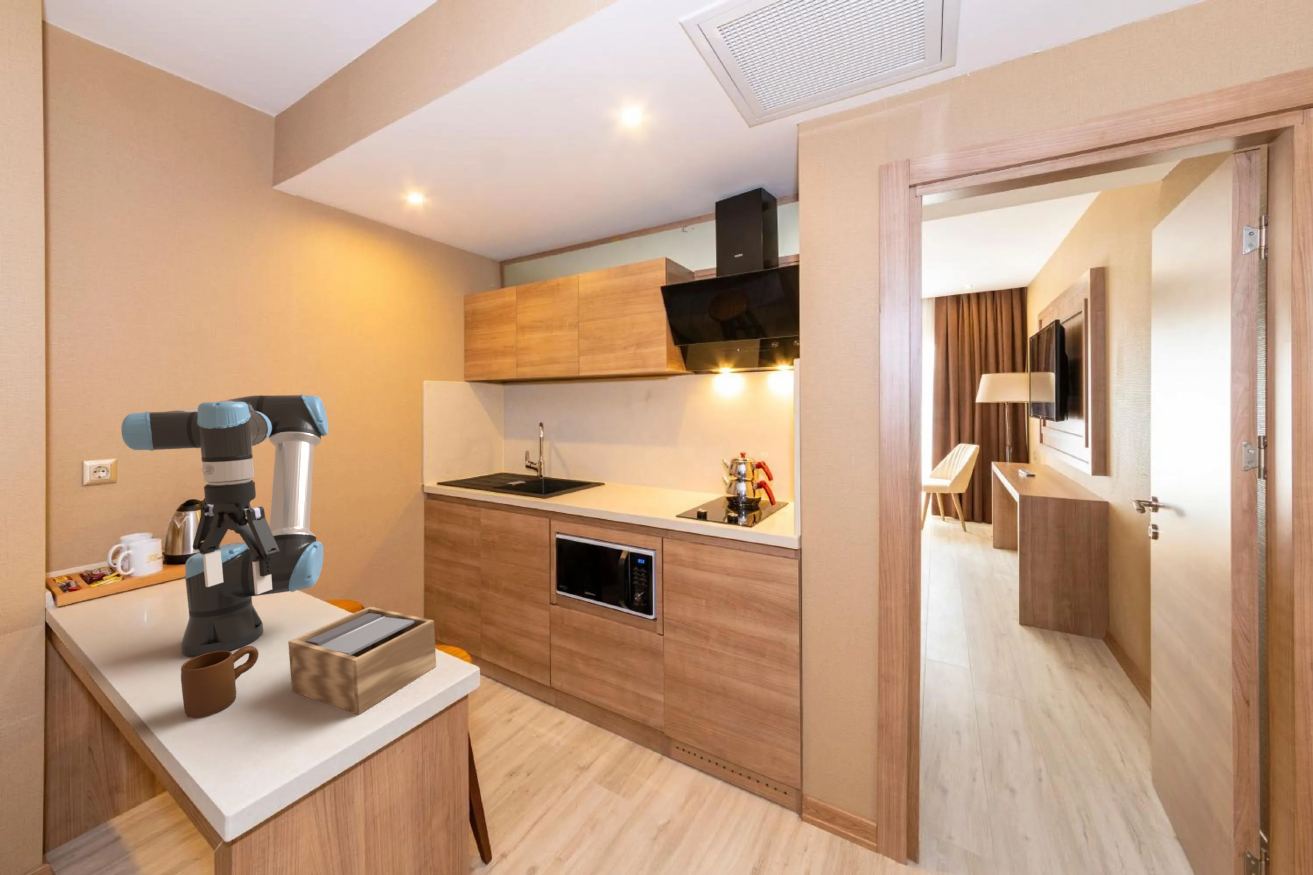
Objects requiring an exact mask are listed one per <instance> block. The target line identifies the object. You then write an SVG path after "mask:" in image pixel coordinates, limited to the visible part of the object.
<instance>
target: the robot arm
mask: <svg viewBox="0 0 1313 875" xmlns="http://www.w3.org/2000/svg"><path fill="white" fill-rule="evenodd" d="M329 432H330V431H329V421H328V416H327V411H326V407H325V405H324V402H323V400H322V399H321V398H320V397H319V396H318V395H309V394H308V395H307V394H306V395H305V394H300V395H299V394H298V395H297V394H292V395H290V394H289V395H287V394H286V395H280V394H279V395H262V394H260V395H248V396H247V395H246V396H242V397H236V398H231V399H226V400H224V399H223V400H219V401H204V402H201V403H199V404H198V406H197V407H194V408H193V407H192V408H185V409H184V408H183V409H177V410H168V411H153V412H152V411H151V412H150V411H144V412H131V413H129V414H127V415H126V416H125V417H124V418H123V420H122V422H121V437H122V441H123V442H124V445H126V446H127V447H128V449H131V450H133V451H151V452H153V451H160V450H163V451H164V450H181V449H183V450H185V449H200V454H201V461H202V464H201V466H202V468H201V472H202V477H203V482H205V483H207V484H205V485H204V486H203V491H204V501H205V503H206V504H204V505H201V506H200V518H199V521H198V525H197V529H196V532H195V536H194V540H193V543H192V548H193V551H195V550H196V551H198V552H197V553H195V554H193V555H191V556H190V557H188V559H187V560H186V562H185V571H184V572H185V573H184V574H185V575H184V579H185V587H186V598H187V607H188V617H189V618H188V621H187V624H186V627H185V630H184V633H183V636H182V640H181V646H180V647H181V653H182V655H183V656H187V657H192V658H194V657H197V656H200V655H203V654H206V653H210V652H215V651H230V652H232V651H234V650H236V649H240V648H242V647H246V646H248V644H249V645H250V644H251V643H253V642H255V641H257V640H258V639H259V638H260V637H261V636H263V634H264V624H263V621H262V618H261V617H260V616H259V614H258V612H257V610H256V608H255V606H254V605H253V598H252V597H258V596H266V595H267V596H268V595H272V594H280V593H287V592H290V593H293V592H296V591H302V590H307V589H310V588H312V587H314V586H315V584H316V583H317V582H318V580H319V577H320V576H321V572H322V568H323V563H324V544H323V543H322V542H321V541H318V540H317V535H316V534H315V533H313V532H312V531H311V528H310V527H311V511H312V508H311V507H312V493H313V492H312V490H313V471H314V470H313V469H314V454H315V453H314V452H315V448H316V447H317V446H319V445H320V444H321V440H322V437H325V436H328V434H329ZM267 439H268V441H269V442H270V443H271V444H272V445H273V446H274V447H275V449H274V450H275V451H274V463H273V475H272V477H273V478H272V488H271V490H272V491H271V500H270V502H271V503H270V516H269V523H268V521H267V519H266V512H265V508H264V507H263V506H258V507H252V506H251V504H250V503H251V502H252V501H253V500H254V499H255V498H256V496H257V492H256V482H255V481H254V480H252V479H253V478H255V467H254V466H255V465H254V458H253V446H257V445H259V444H261V443H263V442H264V441H266V440H267ZM229 530H230V531H234V533H235V534H239V536H240V537H241V538H242V540H243V542H234V543H227V544H222V545H220V544H221V542H223V539H224V538H225V536H226V533H227V532H228V531H229Z"/></svg>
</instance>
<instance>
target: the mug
mask: <svg viewBox="0 0 1313 875" xmlns="http://www.w3.org/2000/svg"><path fill="white" fill-rule="evenodd" d="M245 655H248V658H247V660H246V661H245V662H244V663H242V664H240V665H238V666H236V667H235V663H236V662H237V661H238V660H240V659H241V658H242V657H244V656H245ZM259 655H260V654H259V650H258V648H256V646H252V645H245V646H242V647H240V648H238V650H236V651H235V652H232V651H215V652H210V653H206V654H203V655H200V656H197V657H192V658H190V659H188V660H187V661H185V662H184V663H183V664H181V668H180V683H181V693H182V695H181V696H182V703H183V711H184V714H185V715H186V716H187V717H188V718H203V717H207V716H211V715H214V714H217V713H219V712H221V711H224V710H225V709H227V708H228V707H229V706H231V705H232V704H233V703H234V702H235V700H236V698H237V687H236V680H238V678H239V677H241V675H242V674H244V673H246V672H247V671H249V670H251V669H252V668H253V667H254V666H255V664H256V663H257V661H258V659H259Z"/></svg>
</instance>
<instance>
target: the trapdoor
mask: <svg viewBox="0 0 1313 875" xmlns="http://www.w3.org/2000/svg"><path fill="white" fill-rule="evenodd" d="M414 623H415V622H414V621H413V620H405V619H398V618H391V617H385V616H383V617H381V615H380V614H373V613H368V614H366V615H364V616H361V617H359V618H357V619H354V620H352V621H350V622H348V623H345V624H343V625H341V626H338V627H336V628H334V629H331V630H329V631H327V632H325V633H322V634H320V635H318V636H315V637H313V638H311V639H308V640H306V643H309V644H313V645H316V646H320V647H323V648H327V649H330V650H334V651H337V652H341V653H344V654H348V655H352V654H354V653H356V652H358V651H360V650H362V649H364V648H366V647H368V646H370V645H372V644H374V643H376V642H378V641H380V640H382V639H384V638H386V637H388V636H390V635H392V634H394V633H396V632H398V631H400V630H402V629H404V628H406V627H408V626H410V625H412V624H414Z"/></svg>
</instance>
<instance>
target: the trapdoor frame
mask: <svg viewBox="0 0 1313 875" xmlns="http://www.w3.org/2000/svg"><path fill="white" fill-rule="evenodd" d="M368 613H373V614H380V615H381V617H383V616H385V617H391V618H398V619H405V620H413V621H414V622H415V623H414V624H412V625H410V626H408V627H406V628H404V629H402V630H400V631H398V632H396V633H394V634H392V635H390V636H388V637H386V638H384V639H382V640H380V641H378V642H376V643H374V644H372V645H370V646H368V647H366V648H364V649H362V650H360V651H358V652H356V653H354V654H352V655H348V654H344V653H341V652H337V651H334V650H330V649H327V648H323V647H320V646H316V645H313V644H309V643H306V640H308V639H311V638H313V637H315V636H318V635H320V634H322V633H325V632H327V631H329V630H331V629H334V628H336V627H338V626H341V625H343V624H345V623H348V622H350V621H352V620H354V619H357V618H359V617H361V616H364V615H366V614H368ZM435 633H436V632H435V620H433V619H428V618H425V617H419V616H417V615H416V616H415V615H411V614H406V613H402V612H396V611H393V610H388V609H385V608H384V609H383V608H378V607H374V606H368V607H366V608H363V609H361V610H359V611H356V612H354V613H351V614H349V615H348V616H347V615H346V616H345V617H342V618H340V619H338V620H334V621H333V622H331V623H327V624H325V625H323V626H320V627H318V628H317V629H314V630H312V631H309V632H307V633H304V634H302V635H299V636H297V637H295V638H292V639H291V640H288V642H287V643H288V644H287V645H288V655H289V656H288V657H289V669H290V670H289V671H290V680H291V681H290V683H291V684H290V685H291V692H293V693H296V694H299V695H303V696H304V697H307V698H311V699H314V700H317V701H320V702H321V703H324V704H328V705H330V706H333V707H335V708H339V709H342V710H345V711H347V712H350V713H353V714H356V715H358V716H359V715H361V714H363V713H365V712H366V711H368V710H370V709H371V708H373V707H374V706H376V705H378V704H379V703H381V702H382V701H384V700H386V699H388V697H391V696H392V695H394V694H395V693H397V692H398V691H400V690H401V689H403V688H405V687H406V686H408V685H410V684H412V683H413V682H414V681H416V680H418V679H419V678H420V677H422V676H424V675H425V674H427V673H429V672H430V671H432V670H433V669H435V668H436V667H437V657H436V656H437V655H436V652H437V651H436V637H435V636H436V634H435Z"/></svg>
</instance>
